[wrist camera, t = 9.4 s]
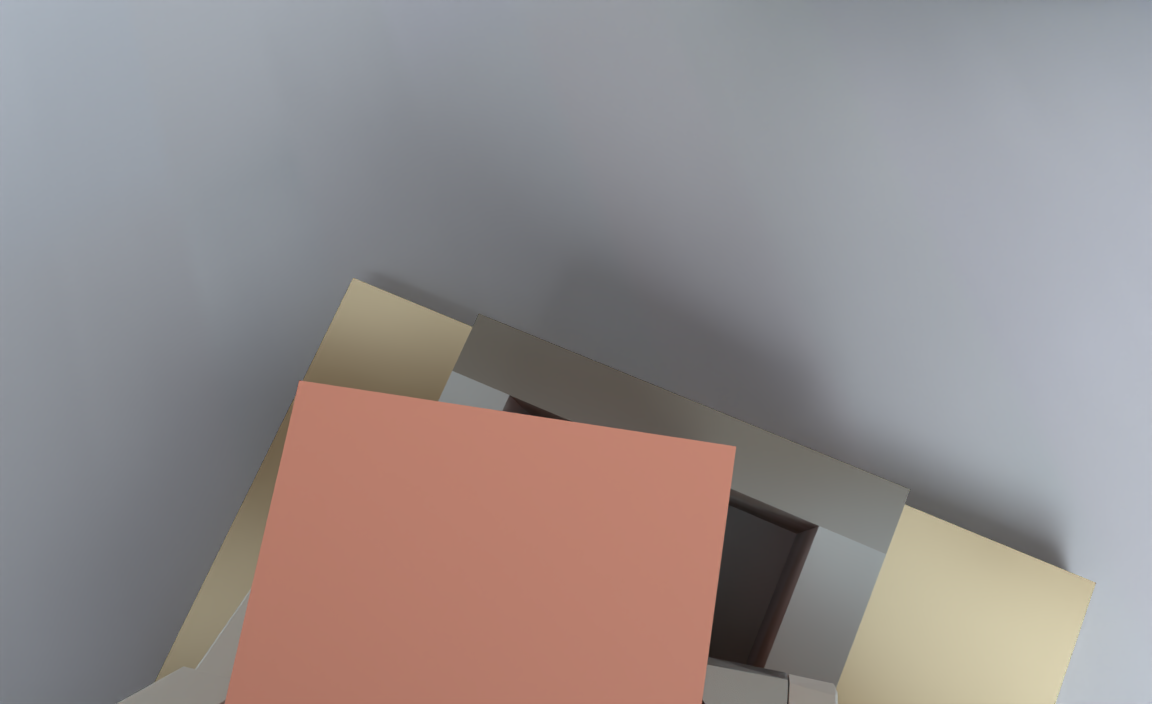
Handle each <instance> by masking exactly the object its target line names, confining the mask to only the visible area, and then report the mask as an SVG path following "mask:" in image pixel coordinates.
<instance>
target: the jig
mask: <svg viewBox="0 0 1152 704" xmlns="http://www.w3.org/2000/svg"><path fill="white" fill-rule="evenodd" d="M303 381H307V382H313V383H320V384H327V385H333V386H340V387H346V388H353V389H360V390H366V391H373V392H380V393H386V394H393V395H399V396H406V397H413V398H419V399H426V400H432V401H439V402H446V403H452V404H459V405H465V406H472V407H479V408H485V409H492V410H499V411H505V412H512V413H518V414H525V415H532V416H538V417H545V418H551V419H558V420H565V421H571V422H578V423H585V424H591V425H598V426H604V427H611V428H618V429H624V430H631V431H637V432H644V433H651V434H657V435H664V436H670V437H677V438H684V439H690V440H697V441H704V442H710V443H717V444H723V445H730V446H736V452H735V460H734V467H733V474H732V482H731V489H730V497H729V504H728V512H727V519H726V527H725V534H724V542H723V549H722V557H721V564H720V571H719V579H718V586H717V594H716V601H715V609H714V616H713V624H712V631H711V639H710V646H709V654H708V657H712V658H717V659H722V660H727V661H731V662H736V663H741V664H746V665H751V666H756V667H761V668H766V669H771V670H776V671H781V672H785V673H786V674H787V675H788V674H791V675H796V676H800V677H805V678H809V679H814V680H819V681H823V682H828V683H833V684H834V685H835V688H836V690H837V692H838V704H1055V703H1056V700H1057V697H1058V694H1059V691H1060V688H1061V685H1062V682H1063V679H1064V676H1065V673H1066V670H1067V667H1068V664H1069V661H1070V658H1071V655H1072V652H1073V649H1074V646H1075V643H1076V640H1077V638H1078V635H1079V632H1080V629H1081V626H1082V623H1083V620H1084V617H1085V614H1086V611H1087V608H1088V605H1089V602H1090V599H1091V596H1092V593H1093V590H1094V587H1095V584H1096V583H1095V582H1093V581H1090V580H1088V579H1085V578H1083V577H1080V576H1078V575H1076V574H1073V573H1071V572H1068V571H1066V570H1063V569H1061V568H1058V567H1056V566H1054V565H1051V564H1049V563H1046V562H1044V561H1041V560H1039V559H1037V558H1034V557H1032V556H1029V555H1027V554H1024V553H1022V552H1020V551H1017V550H1015V549H1012V548H1010V547H1007V546H1005V545H1002V544H1000V543H998V542H995V541H993V540H990V539H988V538H985V537H983V536H981V535H978V534H976V533H973V532H971V531H968V530H966V529H964V528H961V527H959V526H956V525H954V524H951V523H949V522H946V521H944V520H942V519H939V518H937V517H934V516H932V515H929V514H927V513H925V512H922V511H920V510H917V509H915V508H912V507H910V506H908V505H905V503H906V500H907V497H908V495H909V492H910V489H908V488H906V487H903V486H901V485H898V484H896V483H894V482H891V481H889V480H886V479H884V478H881V477H879V476H876V475H874V474H871V473H869V472H867V471H864V470H862V469H859V468H857V467H854V466H852V465H849V464H847V463H844V462H842V461H840V460H837V459H835V458H832V457H830V456H827V455H825V454H822V453H820V452H817V451H815V450H813V449H810V448H808V447H805V446H803V445H800V444H798V443H795V442H793V441H790V440H788V439H786V438H783V437H781V436H778V435H776V434H773V433H771V432H768V431H766V430H763V429H761V428H759V427H756V426H754V425H751V424H749V423H746V422H744V421H741V420H739V419H736V418H734V417H731V416H729V415H727V414H724V413H722V412H719V411H717V410H714V409H712V408H709V407H707V406H704V405H702V404H700V403H697V402H695V401H692V400H690V399H687V398H685V397H682V396H680V395H677V394H675V393H673V392H670V391H668V390H665V389H663V388H660V387H658V386H655V385H653V384H650V383H648V382H646V381H643V380H641V379H638V378H636V377H633V376H631V375H628V374H626V373H623V372H621V371H619V370H616V369H614V368H611V367H609V366H606V365H604V364H601V363H599V362H596V361H594V360H592V359H589V358H587V357H584V356H582V355H579V354H577V353H574V352H572V351H569V350H567V349H565V348H562V347H560V346H557V345H555V344H552V343H550V342H547V341H545V340H542V339H540V338H538V337H535V336H533V335H530V334H528V333H525V332H523V331H520V330H518V329H515V328H513V327H511V326H508V325H506V324H503V323H501V322H498V321H496V320H493V319H491V318H488V317H486V316H484V315H481V314H478V316H477V319H476V321H475V323H474V325H473V327H472V326H469V325H467V324H464V323H462V322H460V321H457V320H455V319H452V318H450V317H447V316H445V315H443V314H440V313H438V312H435V311H433V310H430V309H428V308H426V307H423V306H421V305H418V304H416V303H413V302H411V301H408V300H406V299H404V298H401V297H399V296H396V295H394V294H391V293H389V292H387V291H384V290H382V289H379V288H377V287H374V286H372V285H370V284H367V283H365V282H362V281H360V280H357V279H355V278H353V279H352V281H351V283H350V285H349V287H348V289H347V291H346V293H345V295H344V297H343V299H342V301H341V304H340V306H339V308H338V310H337V312H336V314H335V316H334V318H333V320H332V322H331V324H330V326H329V328H328V330H327V332H326V334H325V336H324V338H323V340H322V342H321V344H320V346H319V348H318V350H317V352H316V354H315V356H314V358H313V361H312V363H311V365H310V367H309V369H308V371H307V373H306V375H305V377H304V379H303ZM295 396H296V395H295ZM294 401H295V397H294V399H293V401H292V403H291V405H290V407H289V409H288V411H287V413H286V415H285V418H284V420H283V422H282V424H281V426H280V428H279V430H278V432H277V434H276V436H275V438H274V440H273V442H272V444H271V446H270V448H269V450H268V452H267V454H266V456H265V458H264V460H263V462H262V464H261V466H260V468H259V470H258V472H257V474H256V477H255V479H254V481H253V483H252V485H251V487H250V489H249V491H248V493H247V495H246V497H245V499H244V501H243V503H242V505H241V507H240V509H239V511H238V513H237V515H236V517H235V519H234V521H233V523H232V525H231V527H230V529H229V531H228V534H227V536H226V538H225V540H224V542H223V544H222V546H221V548H220V550H219V552H218V554H217V556H216V558H215V560H214V562H213V564H212V566H211V568H210V570H209V572H208V574H207V576H206V578H205V580H204V582H203V584H202V586H201V588H200V591H199V593H198V595H197V597H196V599H195V601H194V603H193V605H192V607H191V609H190V611H189V613H188V615H187V617H186V619H185V621H184V623H183V625H182V627H181V629H180V631H179V633H178V635H177V637H176V639H175V641H174V643H173V645H172V648H171V650H170V652H169V654H168V656H167V658H166V660H165V662H164V664H163V666H162V668H161V670H160V672H159V674H158V676H157V678H156V680H155V682H156V681H158V680H160V679H162V678H164V677H165V676H167V675H169V674H171V673H173V672H174V671H176V670H178V669H180V668H182V667H188V668H193V669H196V667H197V666H198V664H199V663H200V661H201V660H202V659H203V657H204V656H205V654H206V653H207V651H208V650H209V648H210V647H211V646H212V644H213V643H214V641H215V640H216V638H217V637H218V635H219V634H220V632H221V631H222V630H223V628H224V627H225V625H226V624H227V622H228V621H229V619H230V618H231V617H232V615H233V614H234V612H235V611H236V609H237V608H238V606H239V605H240V604H241V602H242V601H243V599H244V598H245V596H246V595H247V593H248V592H249V591H250V589H251V587H252V583H253V578H254V574H255V570H256V565H257V561H258V557H259V552H260V548H261V544H262V539H263V535H264V531H265V526H266V522H267V518H268V513H269V509H270V505H271V500H272V496H273V492H274V487H275V483H276V479H277V474H278V470H279V466H280V461H281V457H282V453H283V448H284V444H285V440H286V435H287V431H288V427H289V422H290V418H291V414H292V409H293V405H294ZM155 682H154V683H155Z"/></svg>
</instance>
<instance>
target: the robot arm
mask: <svg viewBox="0 0 1152 704" xmlns="http://www.w3.org/2000/svg"><path fill="white" fill-rule="evenodd" d="M250 591H251V589H250ZM250 591H249V592H248V593H247V595H246V596H245V598H244V599H243V601H242V602H241V604H240V605H239V606H238V608H237V609H236V611H235V612H234V614H233V615H232V617H231V618H230V619H229V621H228V622H227V624H226V625H225V627H224V628H223V630H222V631H221V632H220V634H219V635H218V637H217V638H216V640H215V641H214V643H213V644H212V646H211V647H210V648H209V650H208V651H207V653H206V654H205V656H204V657H203V659H202V660H201V661H200V663H199V664H198V666H197V667H196V669H193V668H188V667H182V668H180V669H178V670H176V671H174V672H173V673H171V674H169V675H167V676H165V677H164V678H162V679H160V680H158V681H156V682H155V683H153V684H151V685H149V686H147V687H146V688H144V689H142V690H140V691H138V692H136V693H135V694H133V695H131V696H129V697H127V698H126V699H124V700H122V701H120V702H118V703H117V704H225V700H226V695H227V691H228V687H229V682H230V678H231V674H232V669H233V665H234V661H235V656H236V652H237V648H238V643H239V639H240V635H241V630H242V626H243V622H244V617H245V613H246V609H247V604H248V600H249V596H250ZM702 704H838V692H837V690H836V688H835V685H834V684H833V683H828V682H823V681H819V680H814V679H809V678H805V677H800V676H796V675H791V674H788V675H787V674H786V673H785V672H781V671H776V670H771V669H766V668H761V667H756V666H751V665H746V664H741V663H736V662H731V661H727V660H722V659H717V658H712V657H708V661H707V668H706V676H705V683H704V691H703V698H702Z"/></svg>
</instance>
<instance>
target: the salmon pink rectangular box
mask: <svg viewBox="0 0 1152 704" xmlns="http://www.w3.org/2000/svg"><path fill="white" fill-rule="evenodd" d="M735 452H736V446H730V445H723V444H717V443H710V442H704V441H697V440H690V439H684V438H677V437H670V436H664V435H657V434H651V433H644V432H637V431H631V430H624V429H618V428H611V427H604V426H598V425H591V424H585V423H578V422H571V421H565V420H558V419H551V418H545V417H538V416H532V415H525V414H518V413H512V412H505V411H499V410H492V409H485V408H479V407H472V406H465V405H459V404H452V403H446V402H439V401H432V400H426V399H419V398H413V397H406V396H399V395H393V394H386V393H380V392H373V391H366V390H360V389H353V388H346V387H340V386H333V385H327V384H320V383H313V382H307V381H300V380H299V383H298V388H297V392H296V396H295V401H294V405H293V409H292V414H291V418H290V422H289V427H288V431H287V435H286V440H285V444H284V448H283V453H282V457H281V461H280V466H279V470H278V474H277V479H276V483H275V487H274V492H273V496H272V500H271V505H270V509H269V513H268V518H267V522H266V526H265V531H264V535H263V539H262V544H261V548H260V552H259V557H258V561H257V565H256V570H255V574H254V578H253V583H252V587H251V591H250V596H249V600H248V604H247V609H246V613H245V617H244V622H243V626H242V630H241V635H240V639H239V643H238V648H237V652H236V656H235V661H234V665H233V669H232V674H231V678H230V682H229V687H228V691H227V695H226V700H225V704H702V698H703V691H704V683H705V676H706V668H707V661H708V654H709V646H710V639H711V631H712V624H713V616H714V609H715V601H716V594H717V586H718V579H719V571H720V564H721V557H722V549H723V542H724V534H725V527H726V519H727V512H728V504H729V497H730V489H731V482H732V474H733V467H734V460H735Z"/></svg>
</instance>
